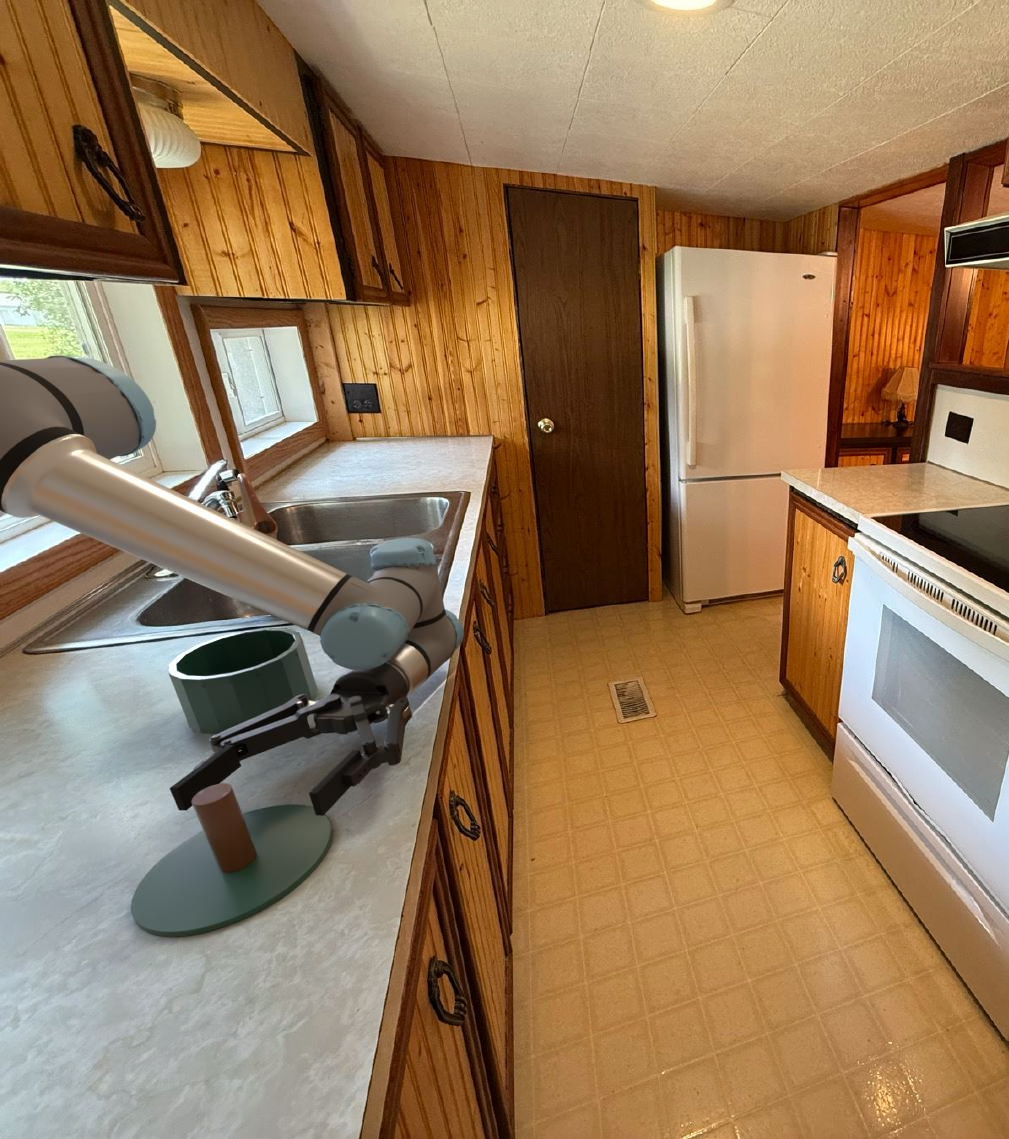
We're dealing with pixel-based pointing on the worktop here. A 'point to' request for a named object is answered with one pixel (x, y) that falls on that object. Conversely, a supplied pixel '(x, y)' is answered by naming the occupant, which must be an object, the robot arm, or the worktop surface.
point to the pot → (241, 677)
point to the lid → (230, 865)
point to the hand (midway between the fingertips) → (246, 802)
